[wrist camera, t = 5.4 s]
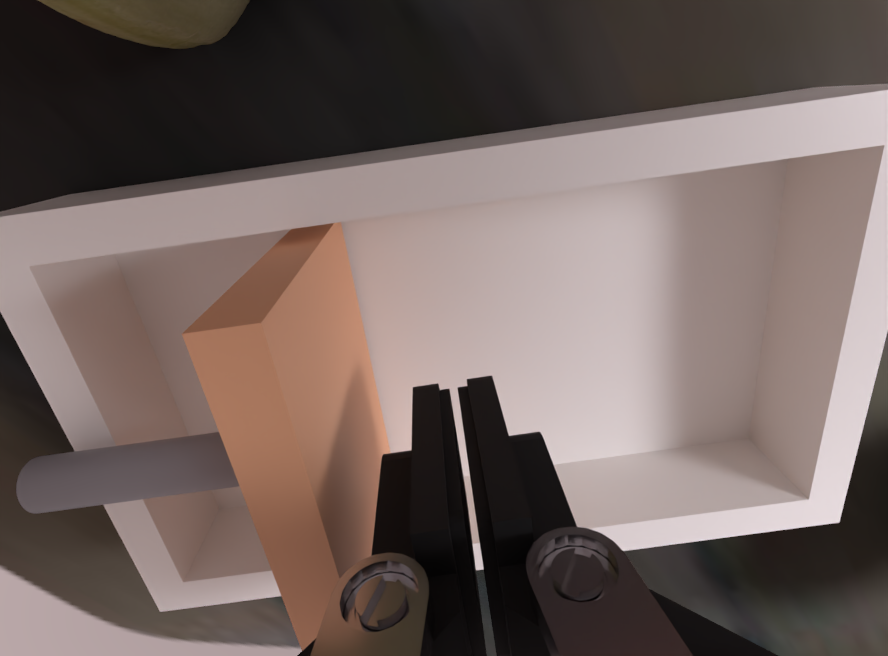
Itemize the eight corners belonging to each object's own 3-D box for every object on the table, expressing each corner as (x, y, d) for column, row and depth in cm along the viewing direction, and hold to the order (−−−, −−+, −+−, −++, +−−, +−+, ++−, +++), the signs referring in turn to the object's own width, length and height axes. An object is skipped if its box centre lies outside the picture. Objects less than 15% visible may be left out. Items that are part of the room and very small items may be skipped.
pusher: (339, 216, 12) (261, 322, 6) (397, 484, 16) (383, 721, 10) (57, 255, 12) (-289, 399, 6) (176, 514, 16) (25, 767, 10)
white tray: (815, 87, 13) (950, 80, 9) (760, 444, 17) (839, 522, 14) (69, 194, 13) (-47, 223, 10) (208, 518, 17) (160, 611, 14)
